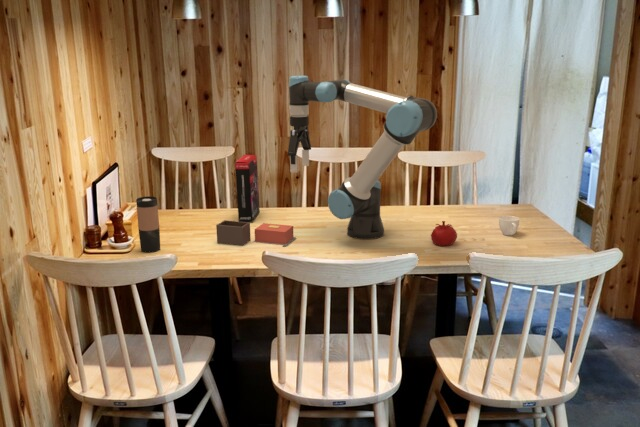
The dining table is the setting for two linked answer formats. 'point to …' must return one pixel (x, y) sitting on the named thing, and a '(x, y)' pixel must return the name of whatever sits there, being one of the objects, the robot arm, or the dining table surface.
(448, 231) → the pomegranate
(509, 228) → the cup
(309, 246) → the dining table surface
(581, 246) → the dining table surface
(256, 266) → the dining table surface
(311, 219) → the dining table surface
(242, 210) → the graphics card box
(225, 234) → the lacquer box
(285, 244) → the mat
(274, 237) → the lid
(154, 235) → the travel mug
